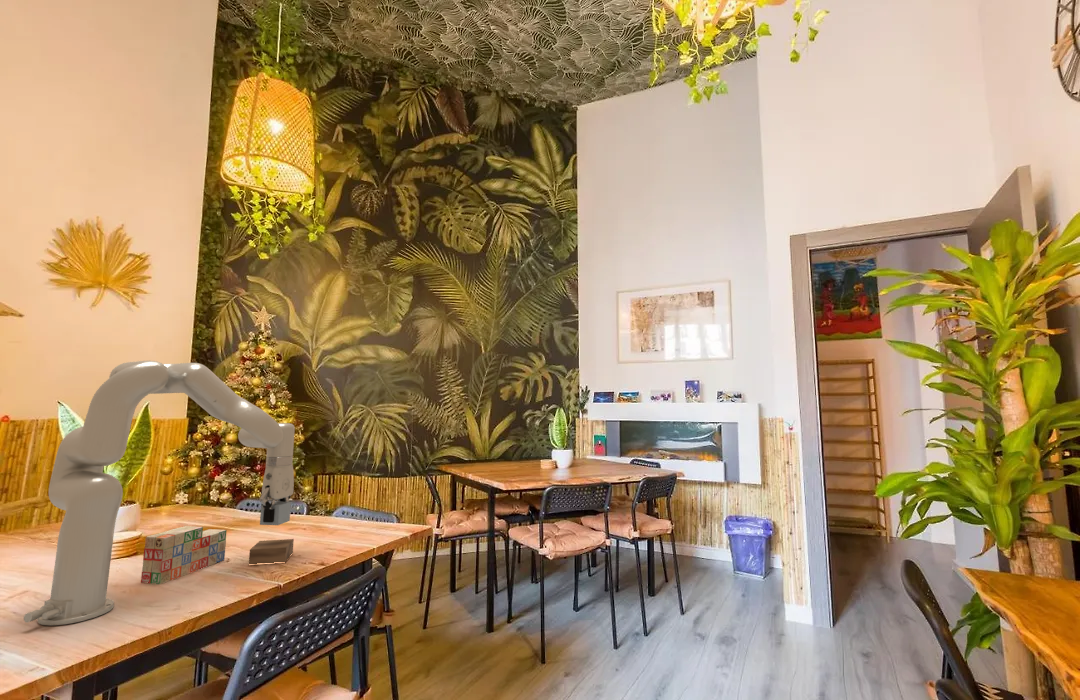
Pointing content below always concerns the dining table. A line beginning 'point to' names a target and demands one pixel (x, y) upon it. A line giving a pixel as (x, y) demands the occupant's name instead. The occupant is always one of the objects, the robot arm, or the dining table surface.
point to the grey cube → (278, 513)
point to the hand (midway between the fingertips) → (275, 519)
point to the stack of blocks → (181, 552)
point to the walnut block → (271, 551)
